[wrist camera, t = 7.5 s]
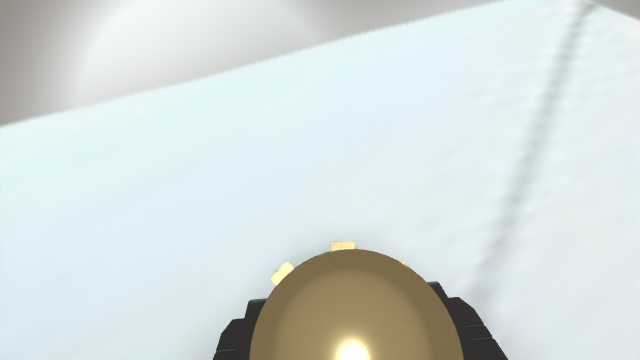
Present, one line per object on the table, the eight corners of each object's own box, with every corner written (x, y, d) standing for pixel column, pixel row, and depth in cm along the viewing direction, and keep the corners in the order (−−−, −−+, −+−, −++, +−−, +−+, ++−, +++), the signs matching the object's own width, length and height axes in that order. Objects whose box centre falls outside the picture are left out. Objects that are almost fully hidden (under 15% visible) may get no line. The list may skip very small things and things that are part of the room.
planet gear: (246, 456, 12) (125, 629, 5) (261, 250, 15) (200, 188, 8) (455, 458, 12) (624, 645, 5) (424, 248, 15) (499, 181, 8)
